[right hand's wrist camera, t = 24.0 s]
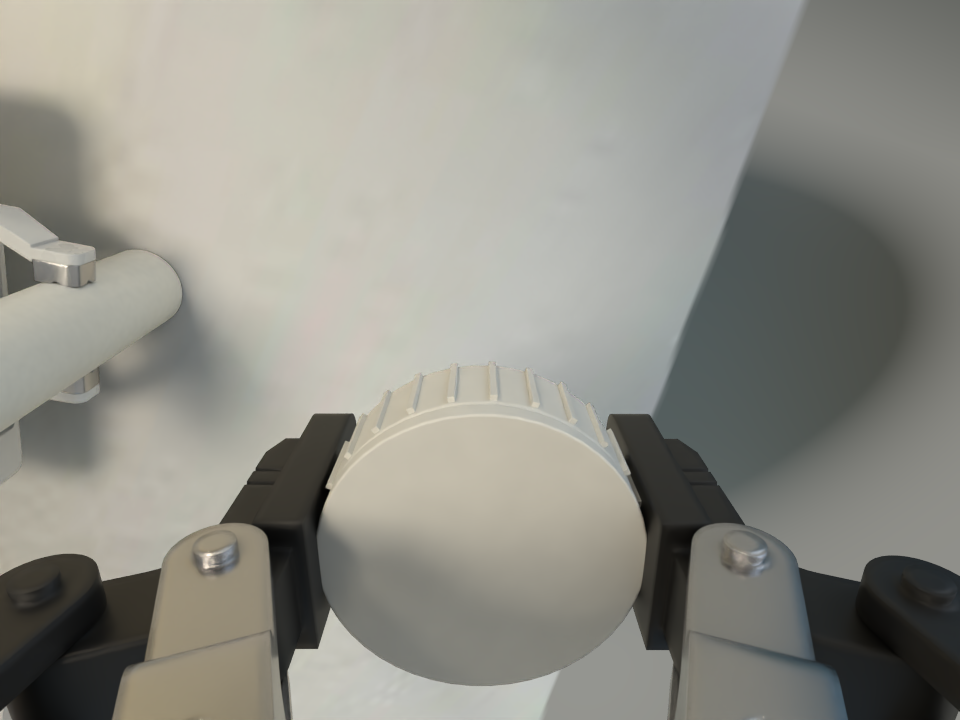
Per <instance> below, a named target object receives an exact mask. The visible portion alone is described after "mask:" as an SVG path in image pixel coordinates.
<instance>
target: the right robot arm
mask: <svg viewBox="0 0 960 720" xmlns="http://www.w3.org/2000/svg"><path fill="white" fill-rule="evenodd" d="M355 427H356V420H355V416H354V414H314V415H313V416H312V418H311V420H310V421H309V423H308V425H307V427H306V428H305V430H304V432H303V434H302V435H301V437H300V438H286V439H284V440H283V441H282V442H280V443H279V444H277V445H276V446H274V447H273V448H271V449H270V450H268V451H267V452H266V453H265V455H264V456H263V458H262V459H261V461H260V462H259V464H258V465H257V467H256V471H253V473H252V475H251V476H250V478H249V479H248V481H247V485H244V487H243V488H242V490H241V491H240V493H239V495H238V496H237V498H236V499H235V501H234V502H233V504H232V505H231V507H230V508H229V510H228V511H227V513H226V515H225V516H224V518H223V519H222V521H221V522H220V524H218V525H214V526H210V527H207V528H204V529H201V530H199V531H196V532H194V533H192V534H190V535H188V536H186V537H185V538H183V539H182V540H180V541H179V542H178V543H177V544H175V545H174V546H173V547H172V548H171V549H170V550H169V552H168V553H167V554H166V556H165V558H164V560H163V563H162V568H160V569H157V570H153V571H149V572H145V573H140V574H135V575H130V576H126V577H121V578H116V579H112V580H107V581H102V580H101V576H100V573H99V569H98V566H97V564H96V562H95V561H94V560H93V559H91V558H89V557H87V556H84V555H79V554H60V555H53V556H48V557H44V558H40V559H37V560H33V561H31V562H28V563H25V564H23V565H20V566H18V567H16V568H14V569H12V570H10V571H8V572H6V573H4V574H3V575H1V576H0V712H1V711H2V710H3V709H4V708H5V707H6V706H7V709H8V711H9V714H10V716H11V719H12V720H293V716H292V704H291V692H290V682H289V675H288V668H289V665H290V663H291V660H292V657H293V654H294V651H295V649H318V647H319V643H320V640H321V637H322V634H323V630H324V627H325V624H326V621H327V617H328V614H329V611H330V608H331V607H330V605H329V603H328V601H327V598H326V596H325V594H324V592H323V587H322V580H321V572H320V563H319V555H318V545H317V528H318V523H319V518H320V515H321V513H322V510H323V507H324V505H325V502H326V500H327V497H328V495H329V492H330V489H327V488H326V485H327V482H328V480H329V478H330V475H331V473H332V471H333V468H334V466H335V464H336V461H337V459H338V457H339V454H340V452H341V450H342V447H343V445H344V443H345V441H348V442H350V439H351V437H352V435H353V432H354V430H355ZM610 428H611V430H612V432H613V433H614V436H615V438H616V440H617V443H618V445H619V447H620V450H621V452H622V454H623V457H624V459H625V461H626V463H627V466H628V468H629V470H630V473H631V474H630V475H631V478H632V480H633V482H634V485H635V487H636V489H637V492H638V494H639V496H640V499H641V507H640V510H641V512H642V515H643V518H644V523H645V528H646V533H647V543H646V553H645V562H644V570H643V578H642V585H641V589H640V591H639V594H638V596H637V598H636V600H635V602H634V605H633V609H634V612H635V615H636V619H637V622H638V625H639V628H640V631H641V634H642V637H643V641H644V644H645V647H646V650H669V651H670V653H671V656H672V659H673V669H672V675H671V682H670V693H669V704H668V716H667V720H955V719H956V716H957V714H958V711H960V576H958V575H957V574H955V573H953V572H951V571H949V570H947V569H945V568H942V567H940V566H938V565H935V564H932V563H930V562H927V561H923V560H920V559H916V558H911V557H905V556H881V557H878V558H875V559H873V560H871V561H870V562H869V563H868V564H867V565H866V567H865V569H864V572H863V576H862V579H861V582H858V581H853V580H849V579H844V578H839V577H834V576H829V575H825V574H820V573H816V572H812V571H808V570H805V569H802V568H799V567H798V563H797V560H796V558H795V556H794V554H793V553H792V552H791V550H790V549H789V548H788V547H787V546H786V545H785V544H783V543H782V542H781V541H780V540H778V539H777V538H775V537H774V536H772V535H770V534H768V533H766V532H764V531H761V530H759V529H756V528H753V527H750V526H746V525H745V524H744V522H743V521H742V519H741V518H740V516H739V515H738V513H737V512H736V510H735V509H734V507H733V506H732V504H731V503H730V501H729V500H728V498H727V497H726V495H725V494H724V492H723V491H722V489H721V488H720V486H719V485H717V481H716V480H715V478H714V477H713V475H712V474H711V472H708V468H707V466H706V465H705V463H704V462H703V460H702V459H701V457H700V456H699V454H698V453H697V452H696V451H694V450H693V449H691V448H690V447H688V446H687V445H686V444H684V443H683V442H681V441H680V440H678V439H664V438H663V437H662V435H661V433H660V431H659V430H658V428H657V426H656V425H655V423H654V421H653V419H652V418H651V416H650V415H649V414H610V415H609V417H608V421H607V428H606V430H608V429H610Z"/></svg>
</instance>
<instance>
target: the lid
mask: <svg viewBox="0 0 960 720" xmlns="http://www.w3.org/2000/svg"><path fill="white" fill-rule="evenodd" d="M630 474H631V473H630V470H629V468H628V466H627V463H626V461H625V459H624V457H623V454H622V452H621V450H620V447H619V445H618V443H617V440H616V438H615V436H614V433H613V432H612V430H611V428H610V429H608V430H606V429H605V428H604V426H603V425H602V423H601V422H600V421H599V419H598V416H597V414H596V412H595V409H594V407H593V405H592V404H591V403H588V404H587V405H585V404H584V403H583V402H582V401H581V400H579V399H578V398H577V397H575V396H574V395H573V394H571V393H570V392H569V391H568V389H567V386H566V384H564V383H563V382H560V383H559V385H557V384H555V383H553V382H551V381H550V380H547V379H545V378H542V377H540V376H537V375H535V374H533V369H530V368H526V370H525V371H521V370H517V369H513V368H507V367H499V366H496V362H489V366H464V367H458V364H457V363H454V364H451V367H450V369H446V370H442V371H438V372H434V373H431V374H428V375H426V376H422V374H421V373H418V374H416V375H415V377H414V380H413V381H411V382H409V383H408V384H406V385H404V386H402V387H400V388H398V389H397V390H395V391H394V392H393V393H391V392H390V391H389V390H388V391H386V392H385V393H384V395H383V397H382V400H381V402H380V403H379V404H378V405H377V406H376V407H375V408H374V409H373V410H372V411H371V412H370V413H369V414H368V415H365V414H364V413H363V414H362V415H361V416H360V418H359V420H358V423H357V425H356V427H355V430H354V432H353V435H352V437H351V439H350V442H348V441H345V443H344V445H343V447H342V450H341V452H340V454H339V457H338V459H337V461H336V464H335V466H334V468H333V471H332V473H331V475H330V478H329V480H328V482H327V485H326V488H327V489H330V492H329V495H328V497H327V500H326V502H325V505H324V507H323V510H322V513H321V515H320V518H319V523H318V528H317V545H318V555H319V563H320V572H321V580H322V587H323V592H324V594H325V596H326V598H327V601H328V603H329V605H330V607H331V608H332V610H333V611H334V613H335V615H336V616H337V618H338V619H339V621H340V622H341V623H342V624H343V625H344V627H345V628H346V629H347V630H348V631H349V633H350V634H351V635H352V636H353V637H354V638H356V639H357V640H358V641H359V642H360V643H361V644H362V645H363V646H364V647H366V648H367V649H368V650H370V651H371V652H373V653H374V654H375V655H377V656H378V657H380V658H381V659H383V660H385V661H387V662H388V663H390V664H392V665H394V666H396V667H398V668H400V669H403V670H405V671H407V672H410V673H412V674H415V675H418V676H421V677H424V678H428V679H431V680H435V681H440V682H445V683H450V684H458V685H468V686H494V685H504V684H513V683H518V682H523V681H528V680H532V679H535V678H538V677H542V676H545V675H548V674H551V673H553V672H555V671H558V670H560V669H563V668H565V667H567V666H569V665H571V664H572V663H574V662H576V661H578V660H580V659H581V658H583V657H584V656H586V655H587V654H589V653H590V652H591V651H593V650H594V649H596V648H597V647H598V646H600V645H601V644H602V643H603V642H604V641H605V640H606V639H607V638H608V637H609V636H611V635H612V633H613V632H614V631H615V630H616V629H617V628H618V626H619V625H620V624H621V623H622V622H623V620H624V619H625V617H626V616H627V614H628V613H629V611H630V610H631V608H632V606H633V605H634V602H635V600H636V598H637V596H638V594H639V591H640V589H641V585H642V578H643V570H644V562H645V553H646V543H647V533H646V528H645V523H644V518H643V515H642V512H641V510H640V507H641V499H640V496H639V494H638V492H637V489H636V487H635V485H634V482H633V480H632V478H631V475H630Z"/></svg>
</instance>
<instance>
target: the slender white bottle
mask: <svg viewBox="0 0 960 720" xmlns="http://www.w3.org/2000/svg"><path fill="white" fill-rule="evenodd" d="M181 301H182V287H181V283H180V280H179V278H178V276H177V274H176V272H175V271H174V269H173V268H172V267H171V266H170V265H169V264H168V263H167V262H166V261H165V260H164V259H162V258H161V257H159V256H157V255H155V254H153V253H151V252H148V251H144V250H135V249H133V250H126V251H123V252H120V253H117V254H115V255H112V256H110V257H107V258H104V259H102V260H99V261H96V280H95V281H94V282H87V284H86V285H84V286H81V287H66V286H62V285H59V284H58V283H57V282H53V283H51V284H49V283H44V282H42V283H39V284H36V285H34V286H31V287H29V288H26V289H23V290H21V291H18V292H15V293H13V294H10V295H8V296H5V297H2V298H0V432H1V431H3V430H4V429H6V428H7V427H9V426H10V425H12V424H13V423H15V422H16V421H18V420H19V419H21V418H22V417H24V416H25V415H27V414H28V413H30V412H31V411H33V410H34V409H36V408H37V407H39V406H40V405H42V404H43V403H45V402H46V401H48V400H49V399H51V398H52V397H54V396H55V395H57V394H58V393H60V392H61V391H63V390H64V389H66V388H67V387H69V386H70V385H72V384H73V383H75V382H76V381H78V380H79V379H81V378H82V377H84V376H85V375H87V374H88V373H90V372H91V371H93V370H94V369H96V368H97V367H99V366H100V365H102V364H103V363H105V362H106V361H107V360H109V359H110V358H112V357H113V356H115V355H116V354H118V353H119V352H121V351H122V350H124V349H125V348H127V347H128V346H130V345H131V344H133V343H134V342H136V341H137V340H139V339H140V338H142V337H143V336H145V335H146V334H148V333H149V332H151V331H152V330H154V329H155V328H157V327H158V326H160V325H161V324H163V323H164V322H166V321H167V320H169V319H170V318H171V317H173V316H174V315H175V314H176V312H177V311H178V309H179V307H180V305H181Z"/></svg>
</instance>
